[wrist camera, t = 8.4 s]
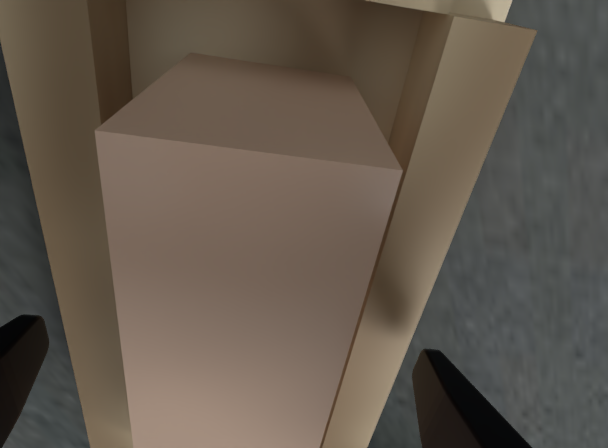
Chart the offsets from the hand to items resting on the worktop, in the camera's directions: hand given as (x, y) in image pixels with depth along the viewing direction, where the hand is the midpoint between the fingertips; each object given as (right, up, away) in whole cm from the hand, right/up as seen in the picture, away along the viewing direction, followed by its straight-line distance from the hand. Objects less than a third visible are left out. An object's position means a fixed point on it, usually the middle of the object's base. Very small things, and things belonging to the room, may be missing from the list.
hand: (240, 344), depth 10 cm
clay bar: (0, +1, +2) cm, 3 cm away
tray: (0, +2, +3) cm, 4 cm away
